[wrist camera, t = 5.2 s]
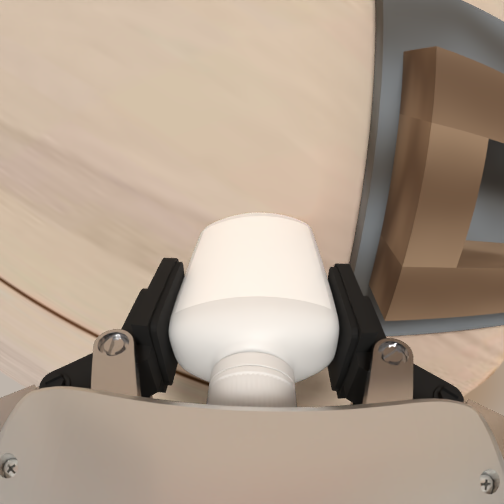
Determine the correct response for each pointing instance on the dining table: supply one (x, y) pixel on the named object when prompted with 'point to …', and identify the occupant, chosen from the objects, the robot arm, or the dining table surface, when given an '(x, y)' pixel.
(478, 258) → the keyed holder
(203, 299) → the eye dropper bottle
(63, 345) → the dining table surface
